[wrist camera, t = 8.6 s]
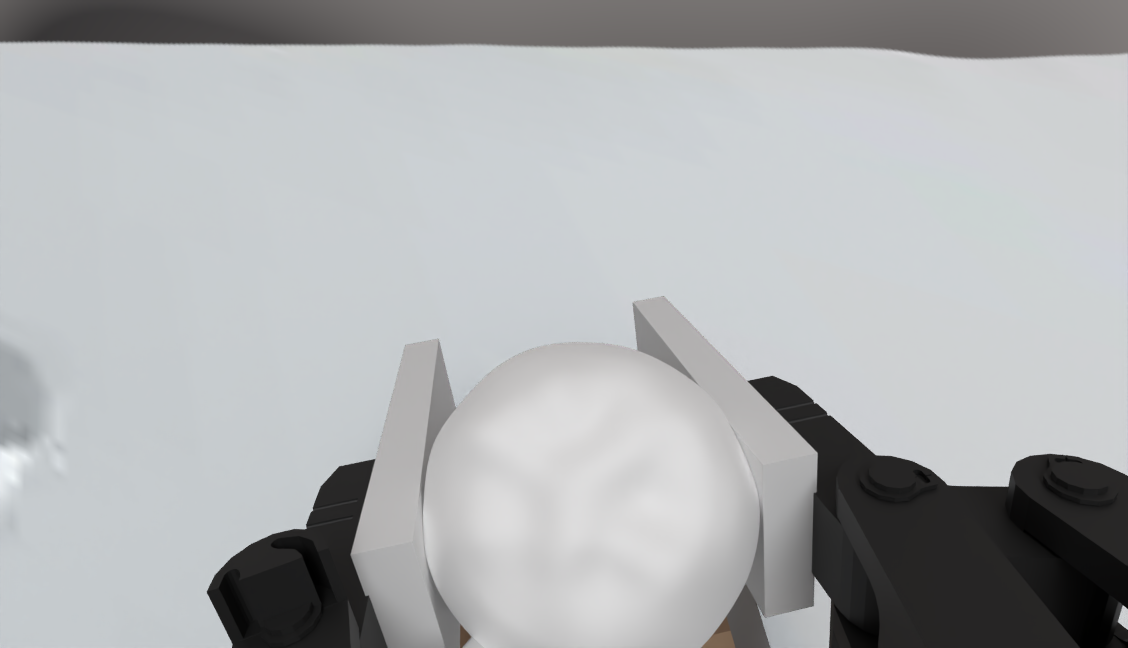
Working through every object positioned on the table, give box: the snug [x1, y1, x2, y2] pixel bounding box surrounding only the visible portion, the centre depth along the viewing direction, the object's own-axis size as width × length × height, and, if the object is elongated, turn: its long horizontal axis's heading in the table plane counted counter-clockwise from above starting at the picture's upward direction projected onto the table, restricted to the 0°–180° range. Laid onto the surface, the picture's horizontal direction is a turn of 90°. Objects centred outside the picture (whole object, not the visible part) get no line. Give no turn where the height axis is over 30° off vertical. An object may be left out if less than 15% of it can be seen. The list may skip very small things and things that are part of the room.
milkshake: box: [423, 342, 760, 648], centre depth 11 cm, size 4×5×10 cm
